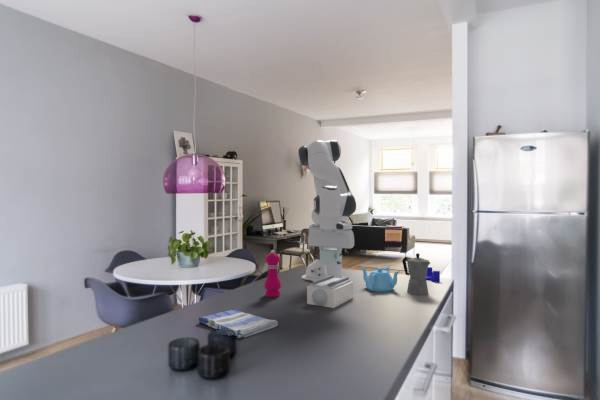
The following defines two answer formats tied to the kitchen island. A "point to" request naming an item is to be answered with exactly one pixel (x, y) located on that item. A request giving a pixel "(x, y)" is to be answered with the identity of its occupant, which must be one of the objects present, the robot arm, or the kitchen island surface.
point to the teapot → (380, 280)
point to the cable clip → (433, 275)
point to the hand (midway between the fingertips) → (330, 258)
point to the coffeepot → (416, 275)
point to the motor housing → (330, 291)
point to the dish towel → (238, 322)
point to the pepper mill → (272, 275)
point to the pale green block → (328, 256)
